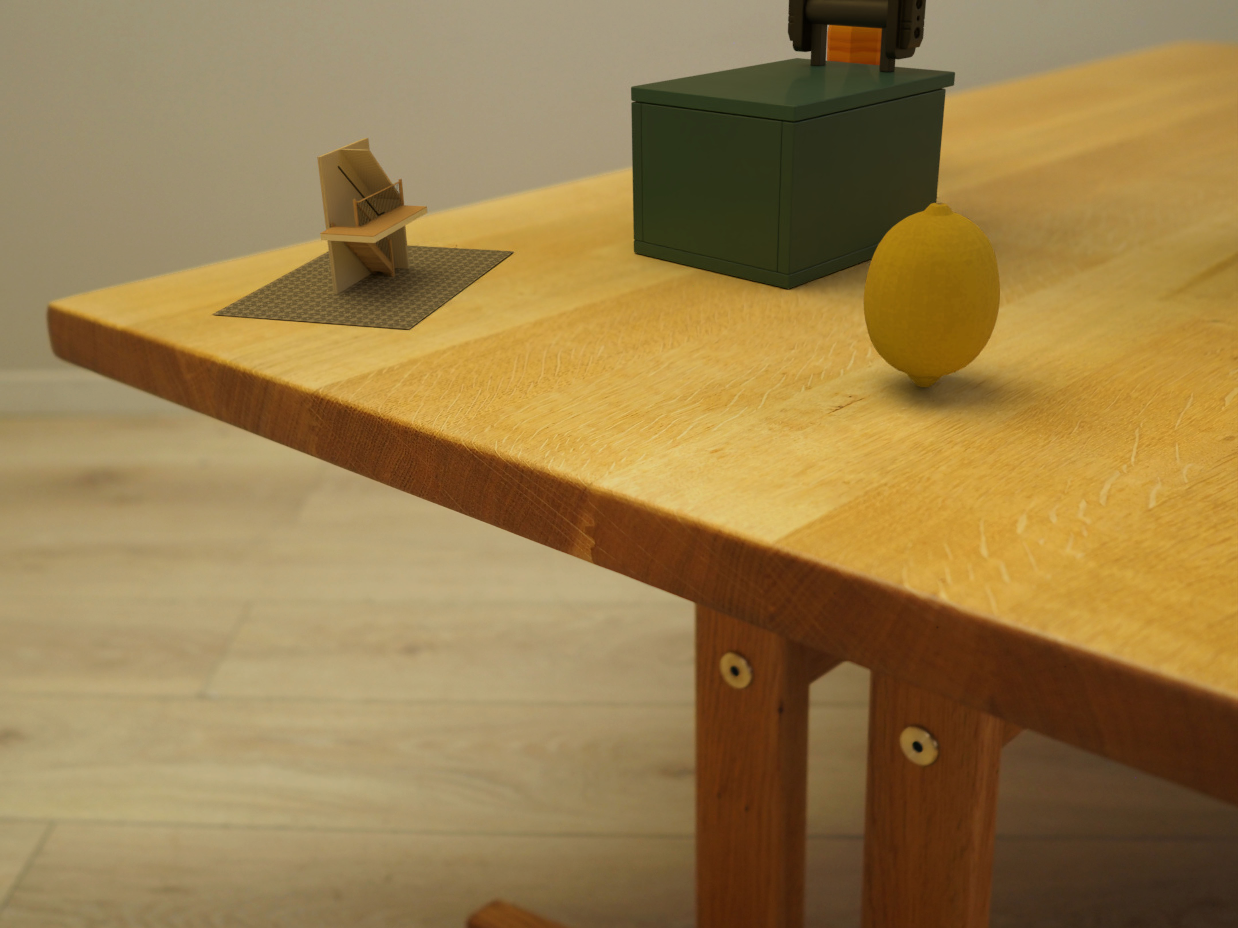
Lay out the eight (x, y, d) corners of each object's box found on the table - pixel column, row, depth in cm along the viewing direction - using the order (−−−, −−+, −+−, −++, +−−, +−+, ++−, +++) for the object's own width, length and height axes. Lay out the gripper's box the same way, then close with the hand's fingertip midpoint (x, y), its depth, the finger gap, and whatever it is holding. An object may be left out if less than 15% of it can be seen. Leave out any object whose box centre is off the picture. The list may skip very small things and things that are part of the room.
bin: (783, 208, 85) (787, 73, 81) (933, 236, 77) (946, 88, 74) (633, 253, 75) (630, 102, 72) (788, 289, 68) (794, 123, 64)
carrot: (831, 163, 98) (841, -44, 92) (893, 168, 96) (908, -44, 90) (810, 176, 94) (820, -40, 88) (876, 181, 92) (890, -40, 86)
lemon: (837, 394, 54) (847, 209, 50) (890, 357, 58) (902, 183, 55) (961, 420, 51) (981, 225, 48) (1008, 379, 55) (1029, 197, 52)
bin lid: (796, 70, 82) (799, -12, 79) (954, 85, 74) (962, -5, 72) (630, 101, 72) (628, 8, 69) (794, 122, 64) (798, 18, 62)
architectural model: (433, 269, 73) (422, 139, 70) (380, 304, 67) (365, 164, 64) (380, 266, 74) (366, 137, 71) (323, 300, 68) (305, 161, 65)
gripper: (1024, -275, 66) (991, 56, 74) (804, -251, 76) (794, 41, 83) (949, -285, 62) (921, 70, 69) (723, -258, 71) (720, 52, 78)
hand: (852, 53), depth 76 cm, fingers closed on bin lid, 6 cm apart
